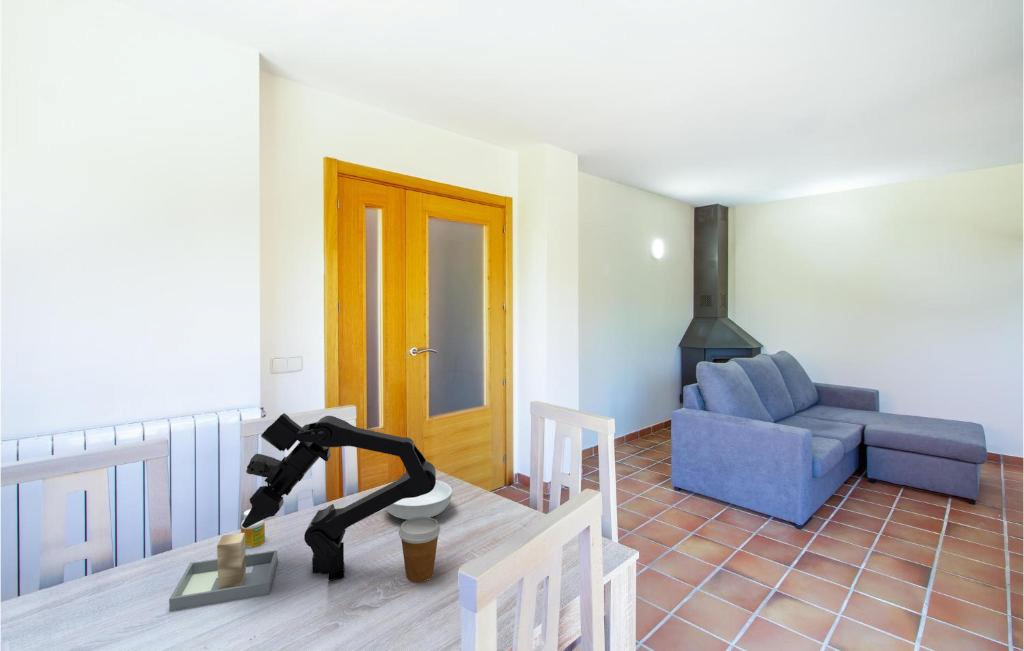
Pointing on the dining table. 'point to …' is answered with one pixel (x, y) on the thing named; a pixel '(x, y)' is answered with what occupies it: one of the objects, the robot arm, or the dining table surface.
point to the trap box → (203, 582)
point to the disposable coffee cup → (419, 547)
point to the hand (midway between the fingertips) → (250, 517)
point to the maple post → (231, 561)
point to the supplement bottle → (253, 533)
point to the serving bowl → (423, 503)
